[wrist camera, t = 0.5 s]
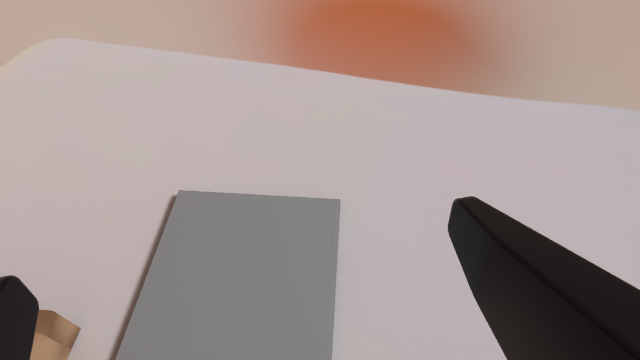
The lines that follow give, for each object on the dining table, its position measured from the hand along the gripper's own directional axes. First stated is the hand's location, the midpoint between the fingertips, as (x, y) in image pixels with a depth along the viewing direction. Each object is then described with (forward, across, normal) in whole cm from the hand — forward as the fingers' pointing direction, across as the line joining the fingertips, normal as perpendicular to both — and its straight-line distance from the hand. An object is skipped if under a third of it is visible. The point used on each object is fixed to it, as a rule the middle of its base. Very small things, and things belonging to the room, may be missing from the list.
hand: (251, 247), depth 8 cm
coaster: (+11, +2, +14) cm, 18 cm away
